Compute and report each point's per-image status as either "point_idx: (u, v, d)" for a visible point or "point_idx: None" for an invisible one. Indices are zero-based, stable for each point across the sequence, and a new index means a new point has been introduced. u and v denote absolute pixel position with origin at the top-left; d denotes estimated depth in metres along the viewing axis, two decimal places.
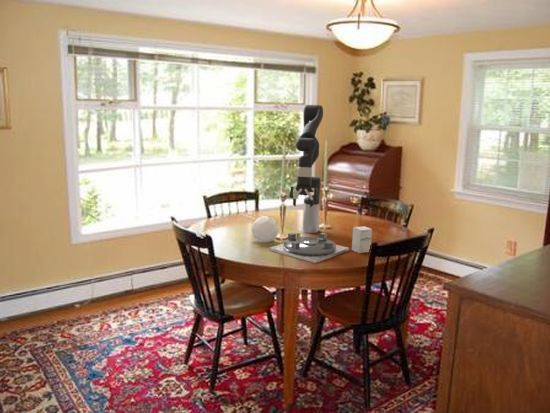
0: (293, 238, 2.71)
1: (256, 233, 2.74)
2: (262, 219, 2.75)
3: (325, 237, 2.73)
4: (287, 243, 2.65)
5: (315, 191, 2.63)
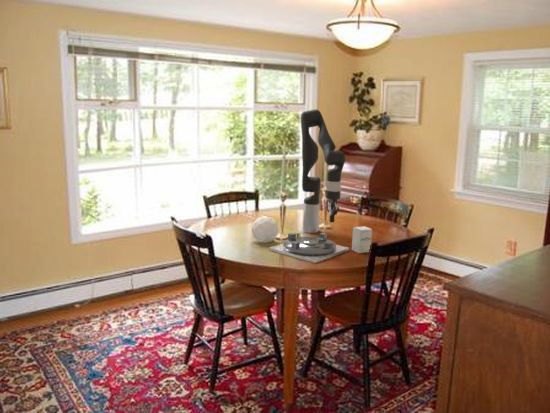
0: (293, 238, 2.71)
1: (256, 233, 2.74)
2: (262, 219, 2.75)
3: (325, 237, 2.73)
4: (287, 243, 2.65)
5: None
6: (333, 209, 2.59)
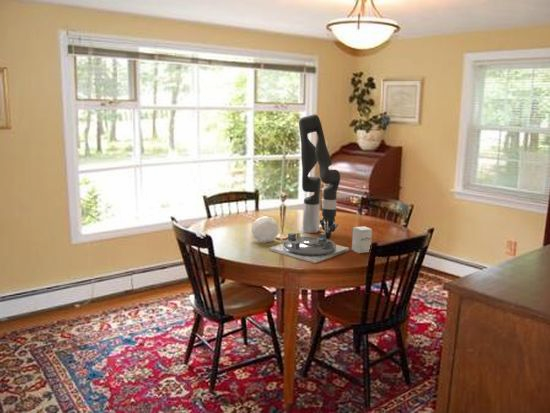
0: (293, 238, 2.71)
1: (256, 233, 2.74)
2: (262, 219, 2.75)
3: (325, 237, 2.73)
4: (287, 243, 2.65)
5: None
6: (332, 226, 2.65)
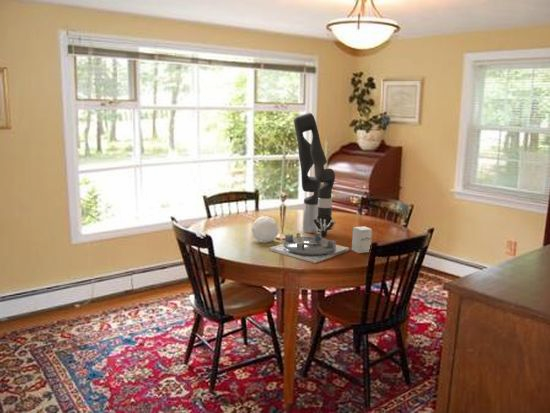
0: (291, 239, 2.69)
1: (256, 233, 2.74)
2: (262, 219, 2.75)
3: (320, 236, 2.75)
4: (287, 244, 2.62)
5: None
6: (330, 225, 2.68)
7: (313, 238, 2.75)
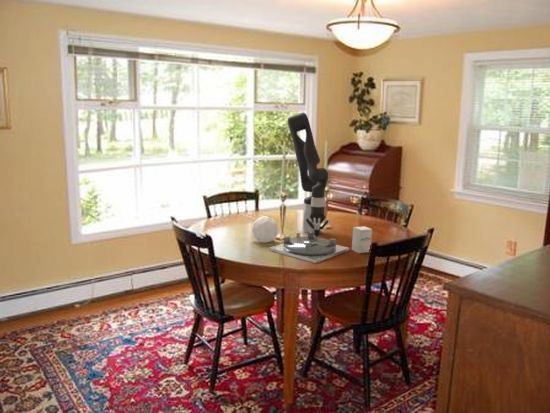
0: (289, 241, 2.65)
1: (256, 233, 2.74)
2: (262, 219, 2.75)
3: (313, 235, 2.76)
4: (291, 246, 2.58)
5: None
6: (325, 223, 2.72)
7: (306, 238, 2.75)
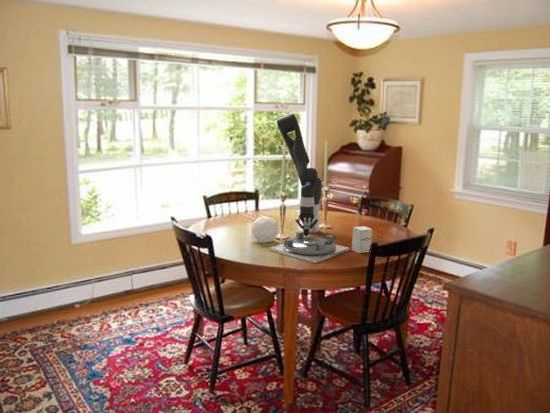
0: None
1: (256, 233, 2.74)
2: (262, 219, 2.75)
3: None
4: (300, 249, 2.54)
5: None
6: (315, 222, 2.74)
7: (297, 238, 2.73)
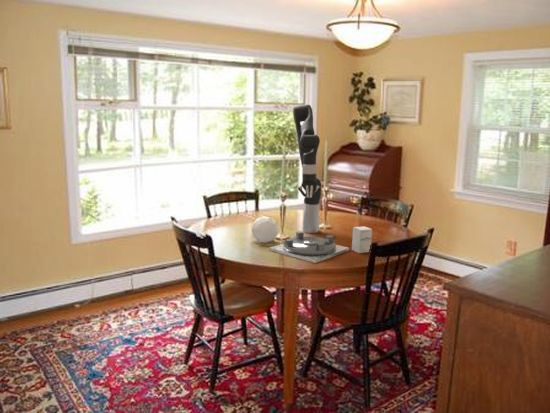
0: None
1: (256, 233, 2.74)
2: (262, 219, 2.75)
3: None
4: (300, 249, 2.54)
5: None
6: (317, 190, 2.70)
7: (297, 238, 2.73)
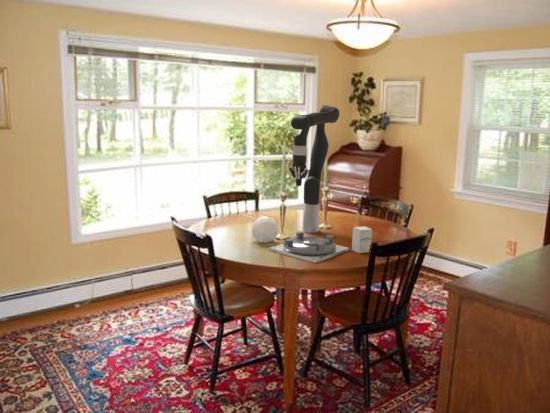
0: None
1: (256, 233, 2.74)
2: (262, 219, 2.75)
3: None
4: (300, 249, 2.54)
5: None
6: (304, 172, 2.68)
7: (297, 238, 2.73)
